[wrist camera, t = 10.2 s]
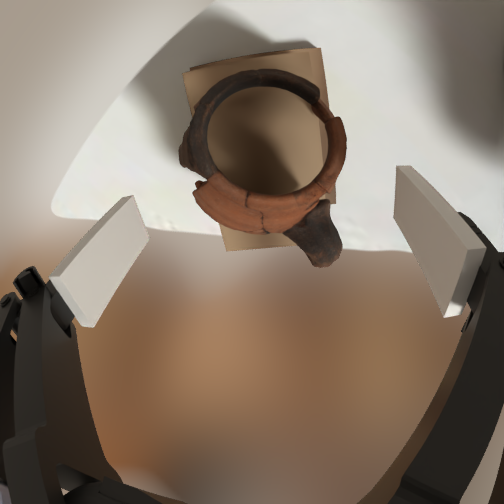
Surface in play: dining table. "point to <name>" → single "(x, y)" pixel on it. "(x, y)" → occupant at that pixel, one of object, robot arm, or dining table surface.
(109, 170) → the dining table surface
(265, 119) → the stand
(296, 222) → the broken clay pot
